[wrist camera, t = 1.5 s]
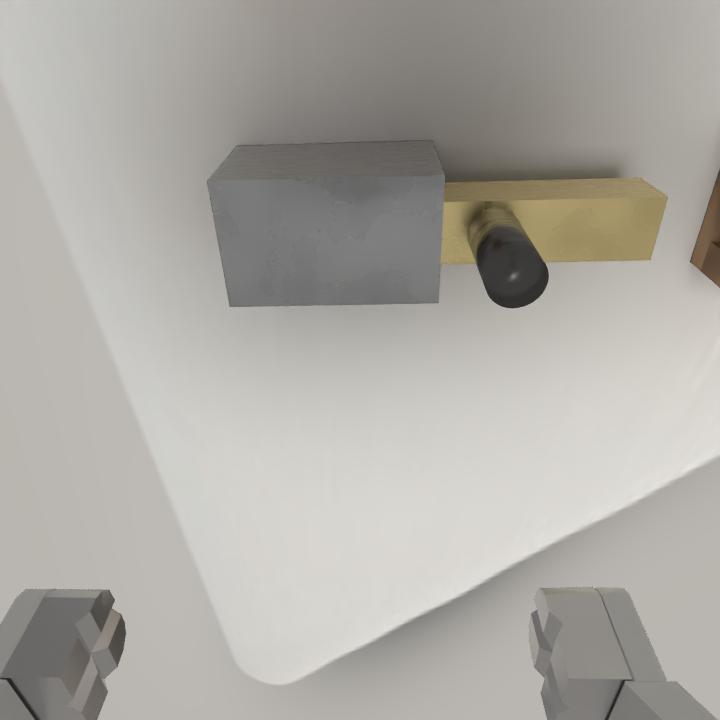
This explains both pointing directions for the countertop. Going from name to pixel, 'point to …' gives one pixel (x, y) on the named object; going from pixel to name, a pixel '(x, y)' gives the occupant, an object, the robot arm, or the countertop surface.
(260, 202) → the sleeve
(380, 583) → the countertop surface
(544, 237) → the yellow bar with knob
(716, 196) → the socket
